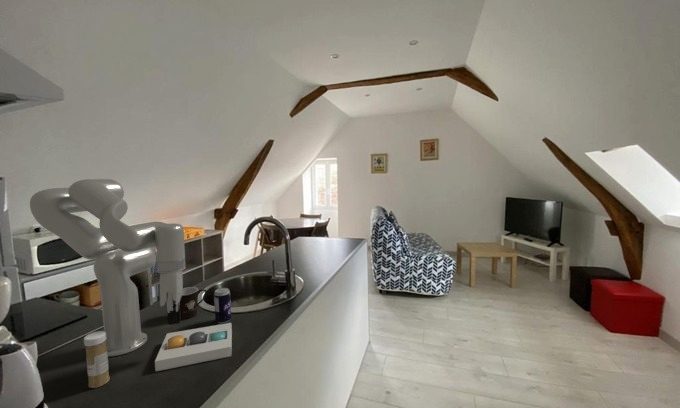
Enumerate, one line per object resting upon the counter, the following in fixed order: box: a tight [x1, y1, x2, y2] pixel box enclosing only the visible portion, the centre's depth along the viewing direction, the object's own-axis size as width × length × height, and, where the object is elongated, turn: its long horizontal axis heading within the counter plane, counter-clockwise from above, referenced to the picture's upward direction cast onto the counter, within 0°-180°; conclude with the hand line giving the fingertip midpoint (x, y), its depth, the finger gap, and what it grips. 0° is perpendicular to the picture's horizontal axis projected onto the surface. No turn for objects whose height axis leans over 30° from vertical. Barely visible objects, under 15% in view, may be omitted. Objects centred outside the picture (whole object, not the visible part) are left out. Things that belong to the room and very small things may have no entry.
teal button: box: [210, 332, 225, 342], centre depth 96 cm, size 4×4×2 cm
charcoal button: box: [189, 332, 205, 346], centre depth 94 cm, size 4×4×2 cm
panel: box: [154, 322, 233, 372], centre depth 94 cm, size 20×16×3 cm
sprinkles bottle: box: [83, 330, 111, 389], centre depth 79 cm, size 5×5×13 cm
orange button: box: [168, 335, 184, 350], centre depth 92 cm, size 4×4×2 cm
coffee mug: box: [178, 286, 208, 320], centre depth 118 cm, size 12×9×10 cm
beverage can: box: [213, 287, 232, 325], centre depth 112 cm, size 6×6×12 cm
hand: (174, 322), depth 92 cm, fingers closed
